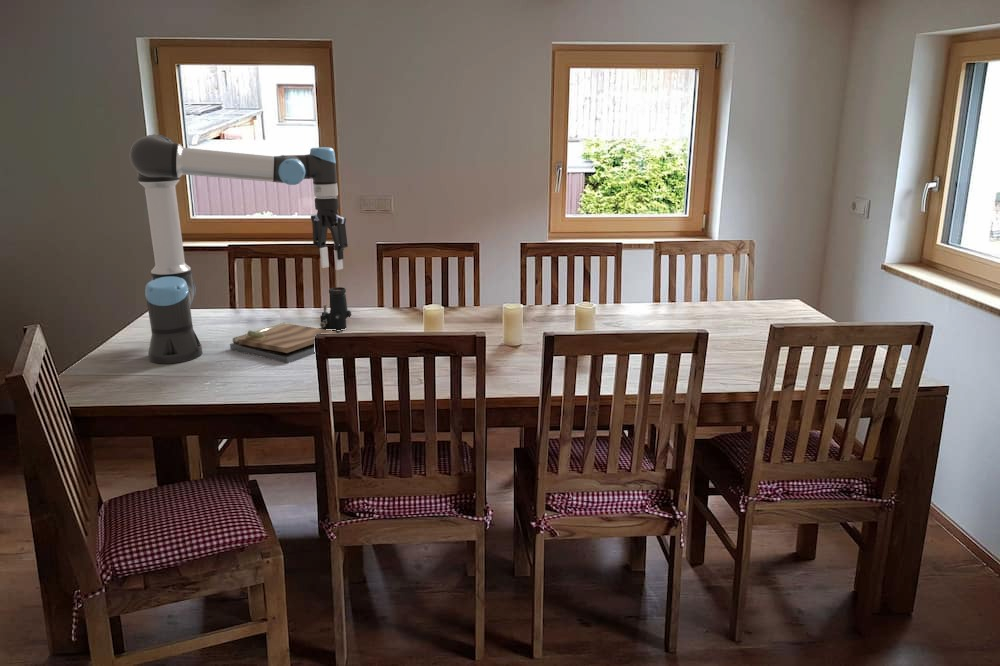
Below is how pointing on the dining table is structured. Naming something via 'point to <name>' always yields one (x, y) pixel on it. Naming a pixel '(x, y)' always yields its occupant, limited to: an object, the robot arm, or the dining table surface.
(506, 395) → the dining table surface
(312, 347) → the stand
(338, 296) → the scope
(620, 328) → the dining table surface
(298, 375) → the dining table surface
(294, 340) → the board
